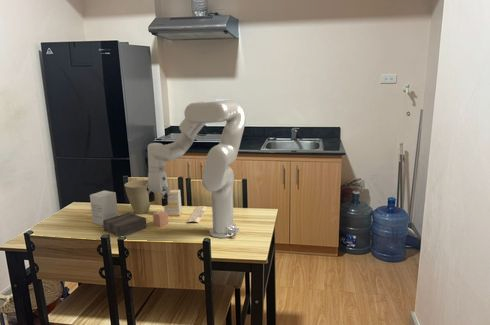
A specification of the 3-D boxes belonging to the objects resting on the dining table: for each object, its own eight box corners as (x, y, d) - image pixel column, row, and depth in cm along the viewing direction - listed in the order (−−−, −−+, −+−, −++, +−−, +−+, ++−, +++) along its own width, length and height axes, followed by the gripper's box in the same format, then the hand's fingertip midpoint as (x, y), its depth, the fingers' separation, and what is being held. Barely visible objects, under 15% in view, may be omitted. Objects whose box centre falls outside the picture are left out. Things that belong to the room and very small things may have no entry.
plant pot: (140, 206, 212) (137, 178, 209) (161, 209, 205) (159, 181, 202) (120, 214, 199) (118, 185, 196) (142, 218, 192) (140, 188, 189)
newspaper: (196, 209, 207) (196, 205, 207) (209, 209, 206) (209, 206, 206) (186, 224, 184) (186, 221, 184) (200, 224, 183) (200, 221, 183)
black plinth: (146, 228, 179) (146, 218, 178) (121, 237, 168) (120, 227, 167) (129, 221, 187) (128, 212, 186) (104, 230, 177) (103, 220, 176)
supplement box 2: (182, 213, 198) (180, 189, 196) (179, 216, 194) (178, 192, 191) (167, 213, 199) (165, 189, 196) (164, 216, 194) (162, 192, 192)
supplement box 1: (107, 217, 194) (104, 189, 191) (119, 220, 190) (116, 192, 187) (92, 223, 187) (89, 194, 183) (104, 226, 182) (101, 196, 179)
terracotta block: (168, 224, 183) (167, 212, 182) (160, 227, 179) (159, 215, 178) (161, 222, 186) (161, 210, 185) (153, 225, 182) (152, 213, 181)
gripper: (175, 170, 175) (176, 205, 178) (151, 165, 185) (153, 198, 189) (162, 173, 169) (163, 209, 173) (139, 167, 180) (140, 201, 183)
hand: (158, 203), depth 181 cm, fingers open, 9 cm apart
